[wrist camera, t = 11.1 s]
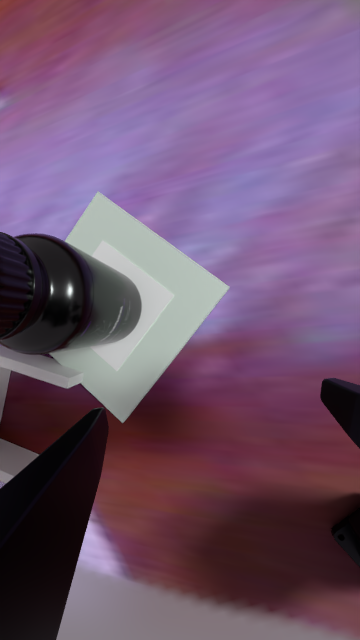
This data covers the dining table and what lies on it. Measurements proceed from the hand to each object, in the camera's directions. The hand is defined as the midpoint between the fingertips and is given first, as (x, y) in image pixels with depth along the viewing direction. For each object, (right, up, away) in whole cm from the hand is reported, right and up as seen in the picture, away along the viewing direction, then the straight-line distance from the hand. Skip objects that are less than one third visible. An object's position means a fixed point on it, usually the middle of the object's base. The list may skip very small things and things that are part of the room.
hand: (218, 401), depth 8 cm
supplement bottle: (-8, +5, +11) cm, 15 cm away
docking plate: (-8, +5, +12) cm, 15 cm away
